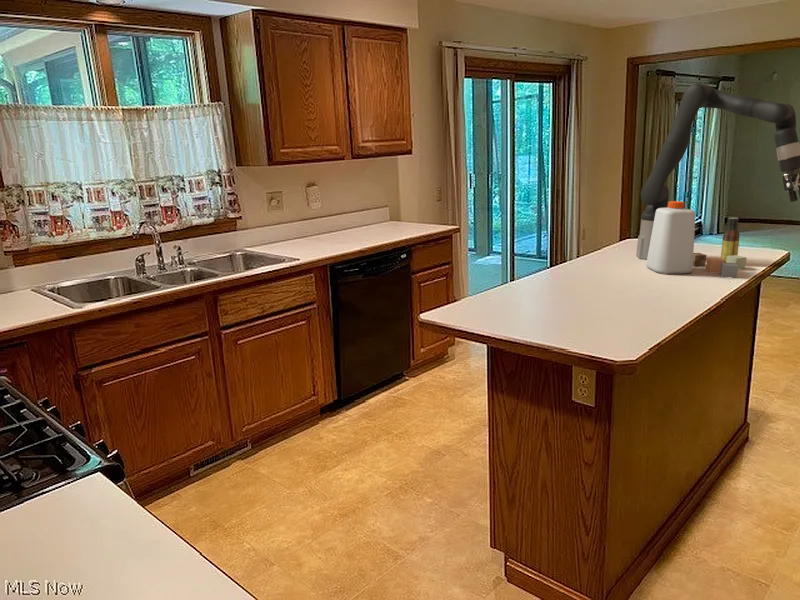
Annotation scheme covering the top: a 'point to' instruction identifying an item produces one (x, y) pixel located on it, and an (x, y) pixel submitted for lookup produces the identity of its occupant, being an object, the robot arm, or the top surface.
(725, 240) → the sauce bottle
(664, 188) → the robot arm
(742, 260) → the sage cube
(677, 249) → the plastic bottle
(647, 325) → the top surface
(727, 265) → the slate cube
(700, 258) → the walnut cube
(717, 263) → the terracotta cube
